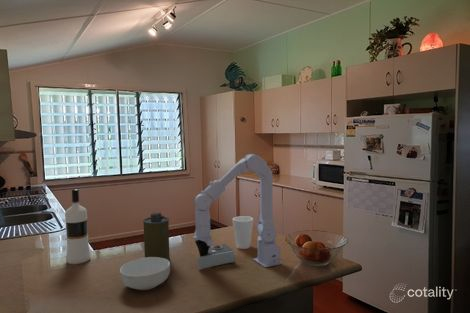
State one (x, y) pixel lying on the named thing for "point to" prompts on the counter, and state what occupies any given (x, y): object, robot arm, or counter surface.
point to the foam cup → (243, 231)
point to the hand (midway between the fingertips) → (203, 258)
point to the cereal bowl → (145, 272)
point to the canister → (156, 236)
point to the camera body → (218, 249)
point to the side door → (215, 259)
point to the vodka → (77, 232)
